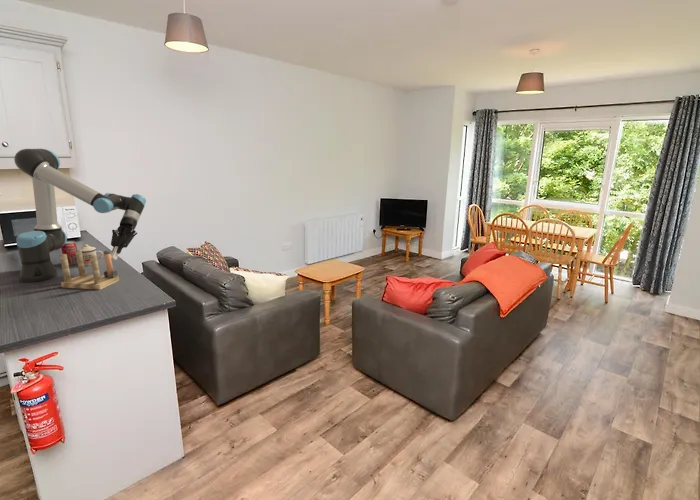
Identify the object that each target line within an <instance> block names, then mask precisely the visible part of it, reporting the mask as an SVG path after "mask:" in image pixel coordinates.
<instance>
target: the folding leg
mask: <svg viewBox="0 0 700 500" xmlns="http://www.w3.org/2000/svg"><path fill="white" fill-rule="evenodd" d="M111 255H112V251H111V250H105V251H103V256H104V260H105V266H106V271H107V274H106V275H107V276H109V277H112V272H114V267H113V262H112V260H113V259H112V258H111Z"/></svg>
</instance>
